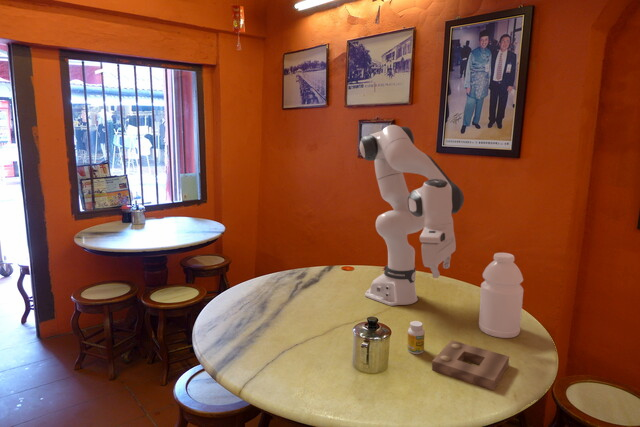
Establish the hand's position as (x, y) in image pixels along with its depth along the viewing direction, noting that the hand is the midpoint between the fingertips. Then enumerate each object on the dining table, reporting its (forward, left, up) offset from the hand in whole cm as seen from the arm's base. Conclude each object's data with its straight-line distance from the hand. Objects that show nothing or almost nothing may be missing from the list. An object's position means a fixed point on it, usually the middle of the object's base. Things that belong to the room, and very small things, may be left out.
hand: (441, 272), depth 141 cm
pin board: (+13, -7, -26) cm, 30 cm away
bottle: (+13, +24, -26) cm, 38 cm away
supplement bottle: (-5, -7, -26) cm, 27 cm away
